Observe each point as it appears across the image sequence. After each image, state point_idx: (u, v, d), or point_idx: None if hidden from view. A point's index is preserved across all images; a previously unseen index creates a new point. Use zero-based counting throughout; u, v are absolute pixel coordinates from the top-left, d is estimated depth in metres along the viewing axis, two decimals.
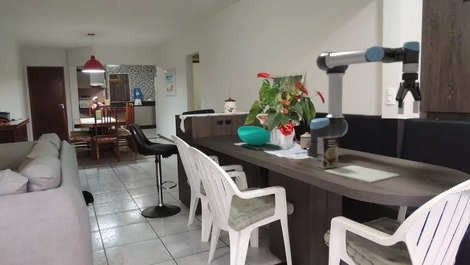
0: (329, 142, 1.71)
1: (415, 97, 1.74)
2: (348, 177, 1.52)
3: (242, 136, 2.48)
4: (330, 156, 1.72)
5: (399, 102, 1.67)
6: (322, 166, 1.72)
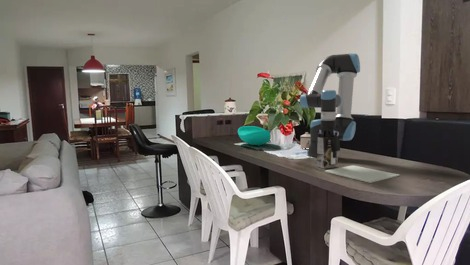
0: (329, 142, 1.71)
1: None
2: (348, 177, 1.52)
3: (242, 136, 2.48)
4: (330, 156, 1.72)
5: None
6: (322, 166, 1.72)
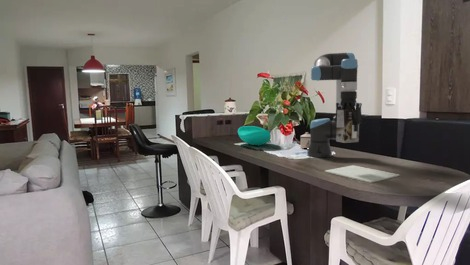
0: (350, 114, 1.60)
1: None
2: (348, 177, 1.52)
3: (242, 136, 2.48)
4: (350, 130, 1.61)
5: None
6: (342, 140, 1.61)
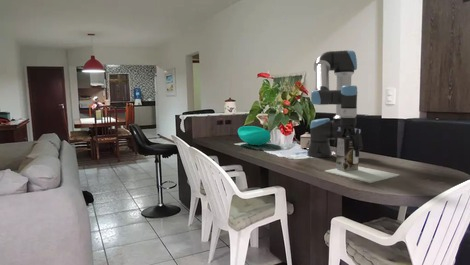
0: (350, 143, 1.61)
1: None
2: (348, 177, 1.52)
3: (242, 136, 2.48)
4: (350, 158, 1.62)
5: None
6: (342, 169, 1.62)
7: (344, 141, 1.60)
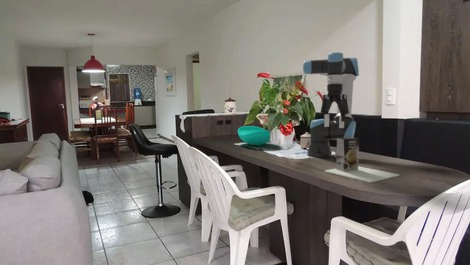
0: (350, 143, 1.61)
1: None
2: (348, 177, 1.52)
3: (242, 136, 2.48)
4: (350, 158, 1.62)
5: None
6: (342, 169, 1.62)
7: (343, 141, 1.61)
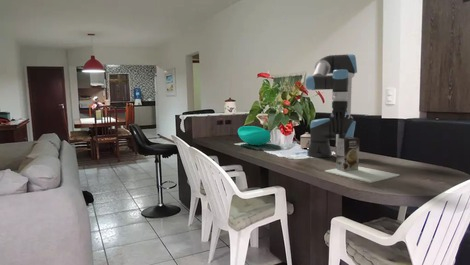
0: (350, 143, 1.61)
1: None
2: (348, 177, 1.52)
3: (242, 136, 2.48)
4: (350, 158, 1.62)
5: None
6: (342, 169, 1.62)
7: (344, 141, 1.61)
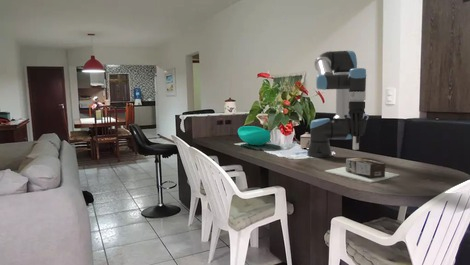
0: None
1: None
2: (348, 177, 1.52)
3: (242, 136, 2.48)
4: None
5: None
6: (346, 169, 1.61)
7: (368, 175, 1.48)
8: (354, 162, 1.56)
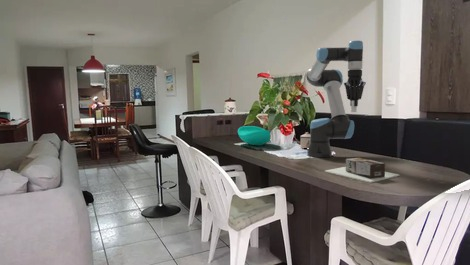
0: None
1: None
2: (348, 177, 1.52)
3: (242, 136, 2.48)
4: None
5: None
6: (346, 169, 1.61)
7: (368, 175, 1.48)
8: (354, 162, 1.56)
